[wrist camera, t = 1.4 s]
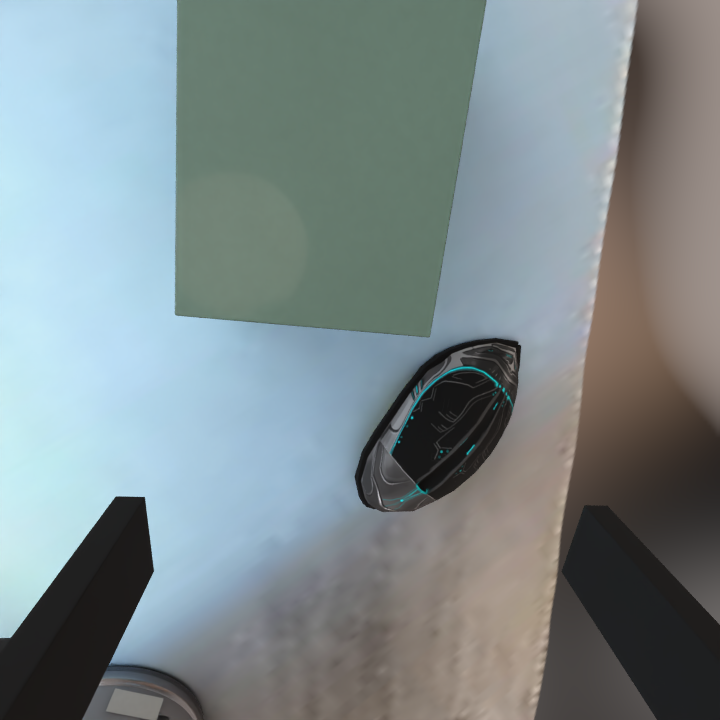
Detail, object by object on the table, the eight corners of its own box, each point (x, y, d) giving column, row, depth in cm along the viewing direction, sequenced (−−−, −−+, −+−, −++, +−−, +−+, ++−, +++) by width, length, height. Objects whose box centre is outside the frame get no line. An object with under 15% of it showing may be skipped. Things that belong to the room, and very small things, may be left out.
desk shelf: (385, 311, 29) (430, 337, 20) (209, 293, 26) (174, 315, 18) (426, 16, 24) (505, -110, 16) (219, -39, 22) (178, -225, 13)
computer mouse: (543, 377, 33) (595, 404, 27) (392, 516, 33) (414, 568, 28) (482, 301, 30) (527, 313, 24) (320, 454, 31) (328, 499, 25)
